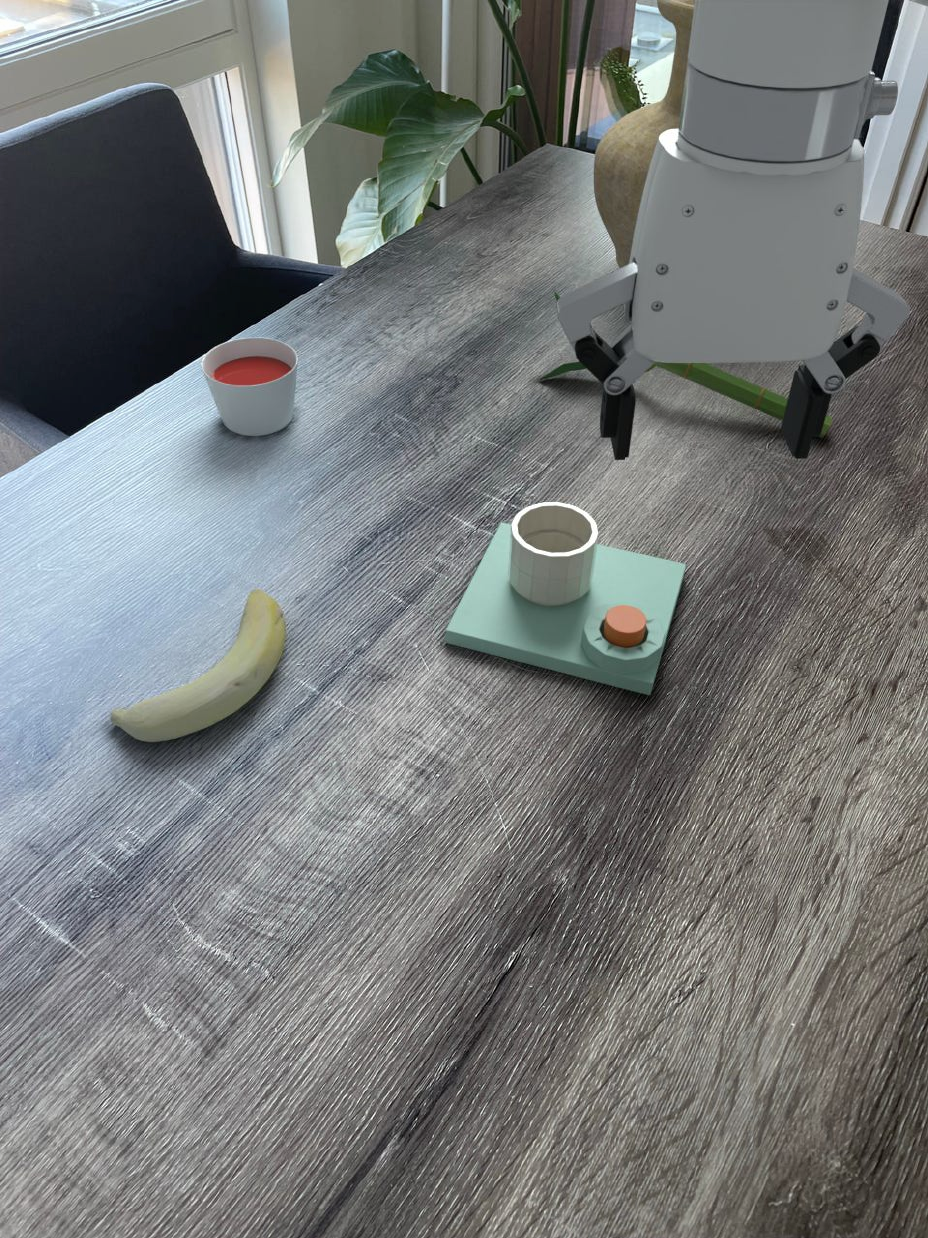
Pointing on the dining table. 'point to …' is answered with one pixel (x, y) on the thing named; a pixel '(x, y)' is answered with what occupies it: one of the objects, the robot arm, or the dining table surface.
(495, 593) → the scale
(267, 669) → the fruit
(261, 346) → the candle
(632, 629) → the power button
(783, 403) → the decorative plant
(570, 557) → the white cup
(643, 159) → the vase
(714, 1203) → the dining table surface
